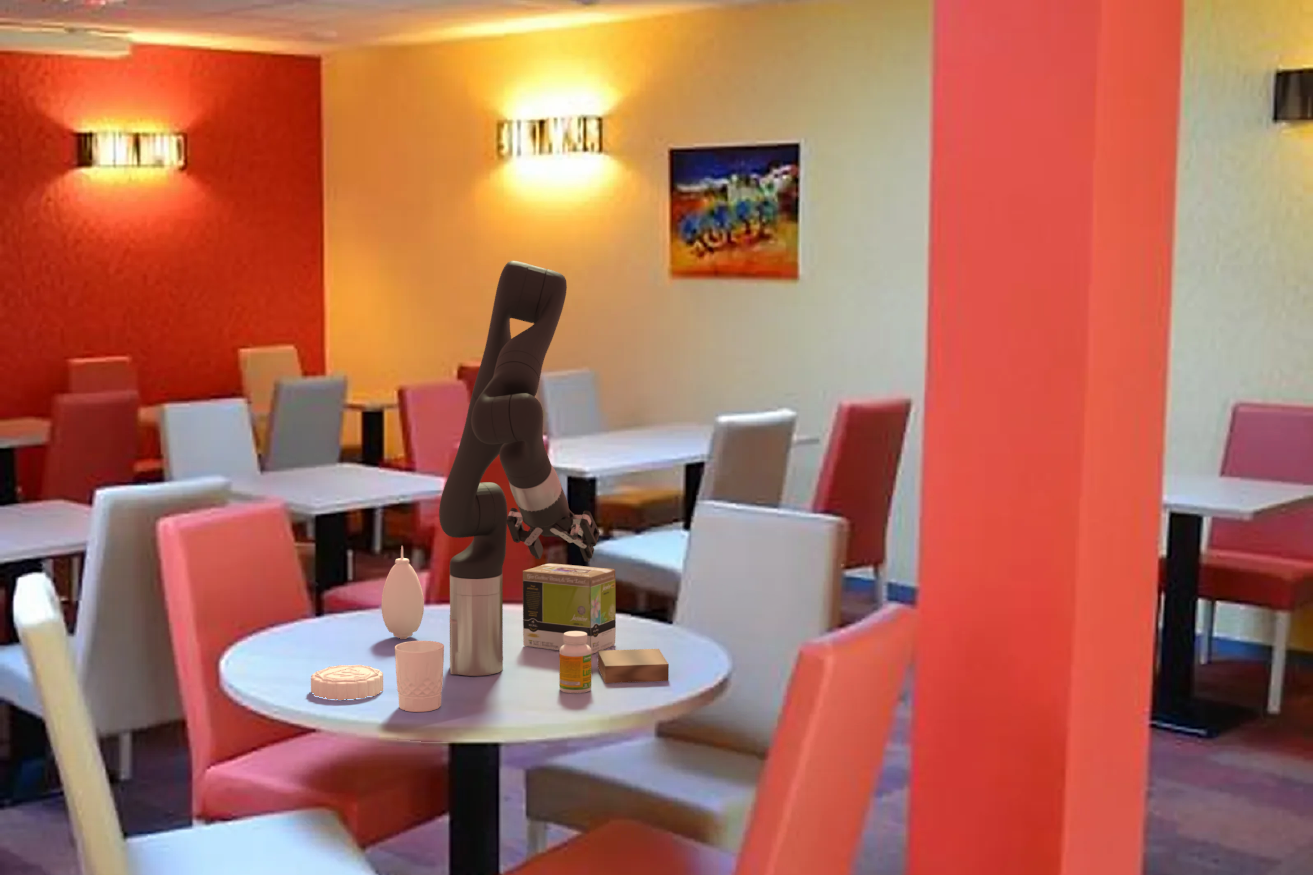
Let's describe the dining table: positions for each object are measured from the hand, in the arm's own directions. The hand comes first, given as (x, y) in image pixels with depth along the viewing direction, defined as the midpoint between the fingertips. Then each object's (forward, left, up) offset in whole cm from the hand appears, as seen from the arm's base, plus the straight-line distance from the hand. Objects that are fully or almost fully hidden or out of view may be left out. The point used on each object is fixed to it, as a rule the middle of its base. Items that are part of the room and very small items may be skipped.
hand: (564, 555), depth 257 cm
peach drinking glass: (-23, 0, -25) cm, 34 cm away
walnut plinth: (+14, +16, -24) cm, 32 cm away
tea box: (+5, +38, -25) cm, 46 cm away
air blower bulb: (-26, +48, -24) cm, 60 cm away
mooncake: (-35, +11, -25) cm, 45 cm away
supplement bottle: (+3, +7, -25) cm, 26 cm away
